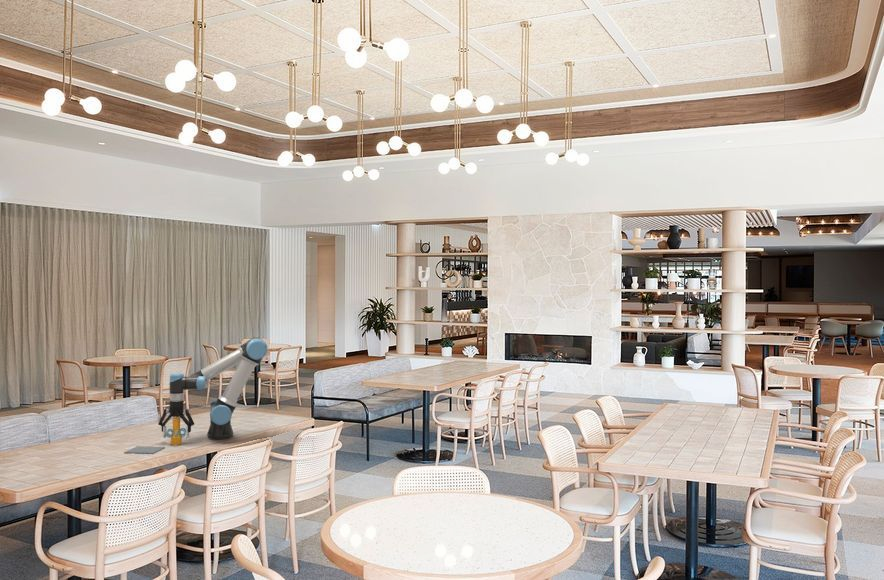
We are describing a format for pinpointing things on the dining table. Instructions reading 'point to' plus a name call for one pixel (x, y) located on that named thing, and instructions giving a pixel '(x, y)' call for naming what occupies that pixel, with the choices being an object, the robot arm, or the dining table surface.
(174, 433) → the orange hollow ringed part
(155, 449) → the card
